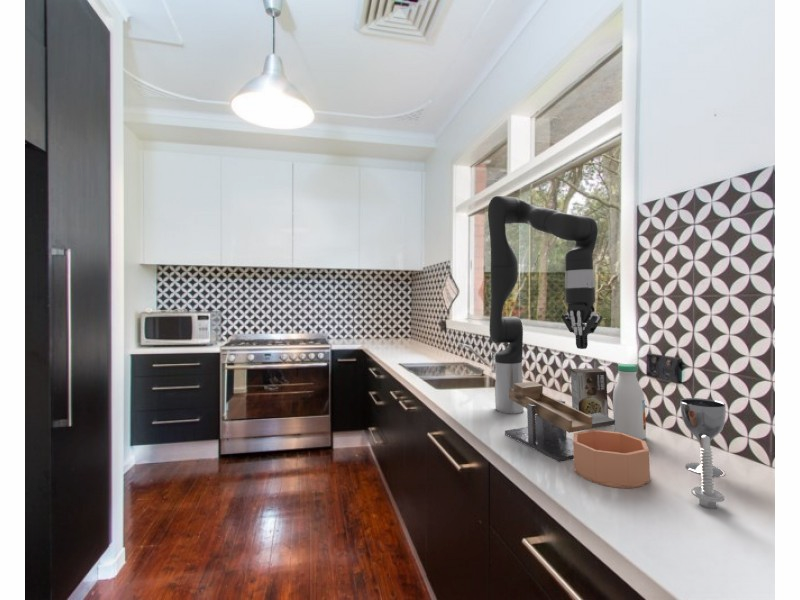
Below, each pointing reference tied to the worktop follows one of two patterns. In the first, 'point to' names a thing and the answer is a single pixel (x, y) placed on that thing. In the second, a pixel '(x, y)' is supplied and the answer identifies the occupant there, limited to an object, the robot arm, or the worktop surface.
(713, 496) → the screw
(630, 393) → the milk bottle
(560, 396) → the worktop surface
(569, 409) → the seesaw lever
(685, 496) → the worktop surface
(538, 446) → the lever stand
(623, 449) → the bowl
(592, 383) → the coffee box
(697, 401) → the wine glass
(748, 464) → the worktop surface
